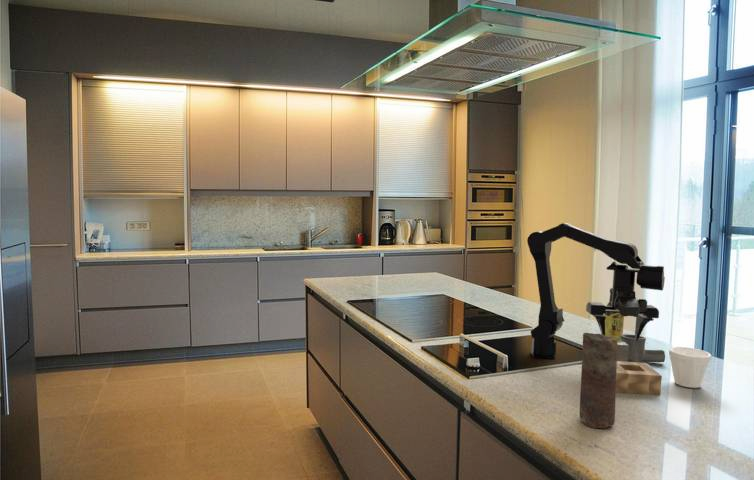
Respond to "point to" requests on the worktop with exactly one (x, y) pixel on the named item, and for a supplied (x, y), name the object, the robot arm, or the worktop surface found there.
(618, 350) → the square bit
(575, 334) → the worktop surface
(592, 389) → the brown stone pillar
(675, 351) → the cup
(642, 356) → the pipe
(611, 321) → the sauce bottle
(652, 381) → the socket block
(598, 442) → the worktop surface
